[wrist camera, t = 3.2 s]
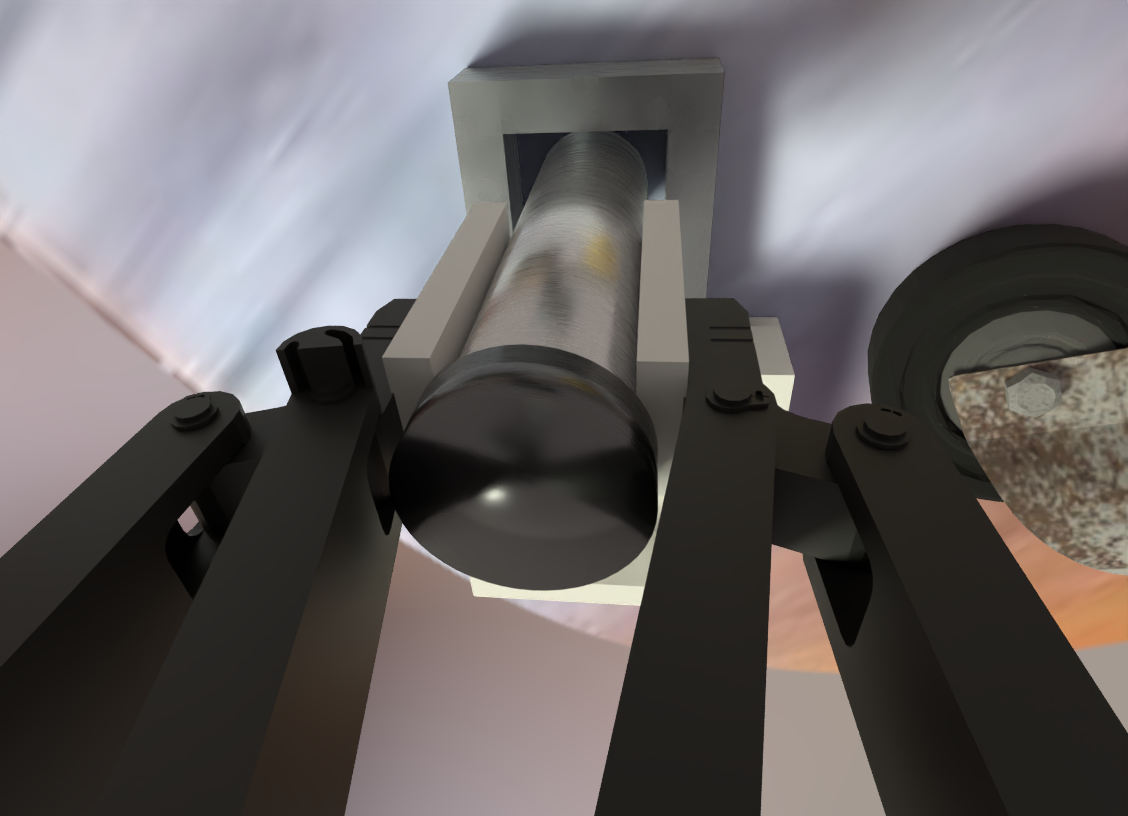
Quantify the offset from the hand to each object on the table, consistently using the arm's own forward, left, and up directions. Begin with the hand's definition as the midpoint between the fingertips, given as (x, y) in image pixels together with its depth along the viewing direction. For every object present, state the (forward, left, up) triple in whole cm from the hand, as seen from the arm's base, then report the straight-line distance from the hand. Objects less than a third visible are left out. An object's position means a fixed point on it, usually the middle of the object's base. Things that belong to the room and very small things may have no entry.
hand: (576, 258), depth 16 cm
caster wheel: (+7, +14, -6) cm, 17 cm away
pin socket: (0, 0, -6) cm, 6 cm away
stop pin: (0, 0, -5) cm, 5 cm away
